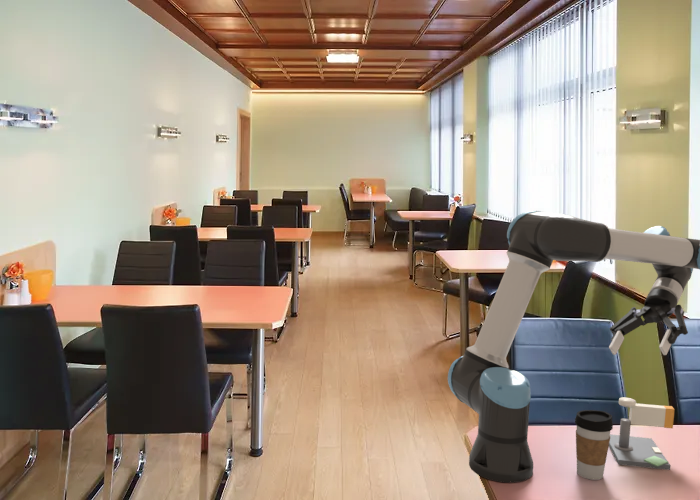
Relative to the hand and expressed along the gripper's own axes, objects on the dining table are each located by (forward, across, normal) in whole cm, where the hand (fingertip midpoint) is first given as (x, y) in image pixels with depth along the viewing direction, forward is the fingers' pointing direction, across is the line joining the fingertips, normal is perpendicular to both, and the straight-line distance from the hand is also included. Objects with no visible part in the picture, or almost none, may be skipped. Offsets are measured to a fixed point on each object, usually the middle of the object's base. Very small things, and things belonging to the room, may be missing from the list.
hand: (636, 351), depth 159 cm
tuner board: (+15, +4, -22) cm, 27 cm away
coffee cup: (+32, +4, -10) cm, 34 cm away
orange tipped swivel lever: (+14, +3, -21) cm, 25 cm away
